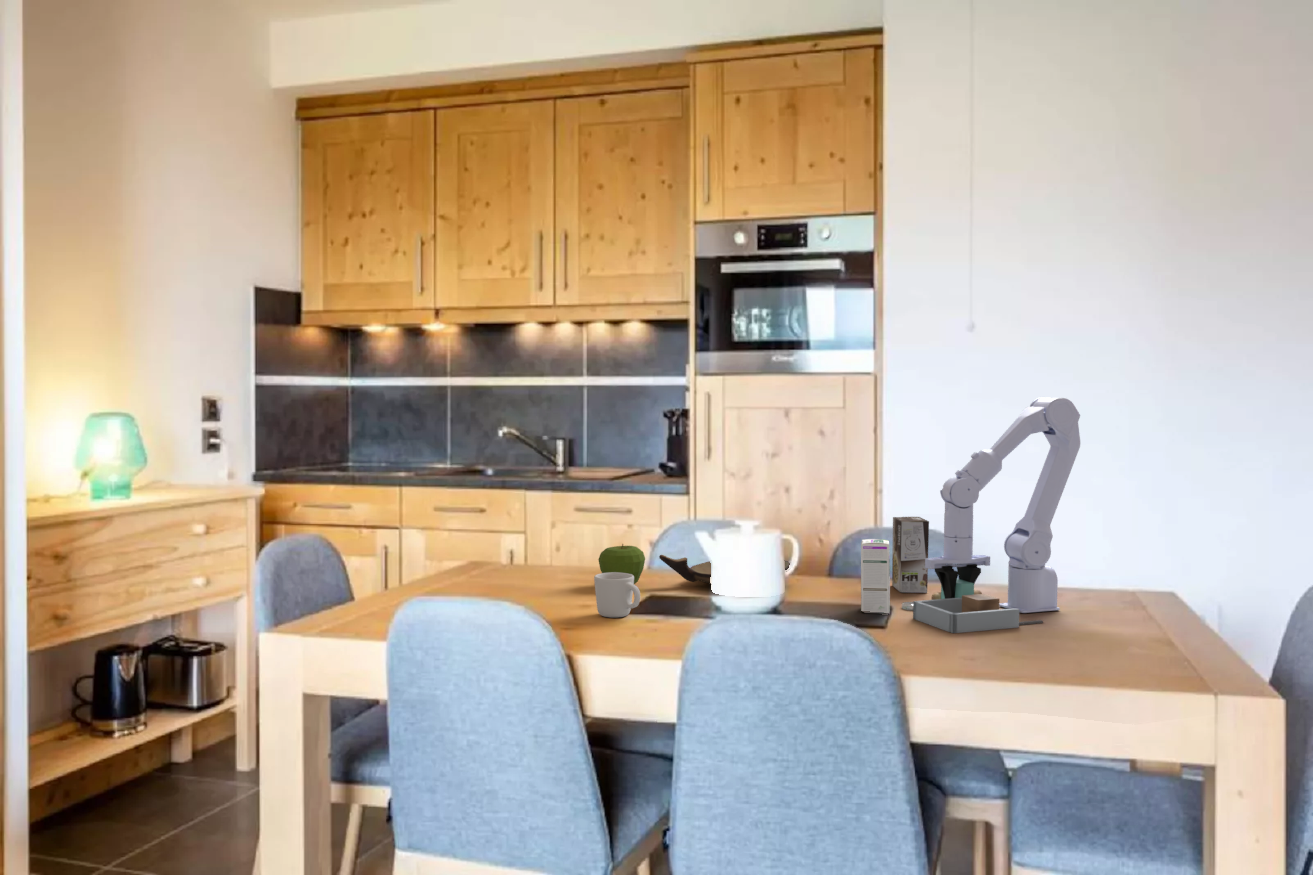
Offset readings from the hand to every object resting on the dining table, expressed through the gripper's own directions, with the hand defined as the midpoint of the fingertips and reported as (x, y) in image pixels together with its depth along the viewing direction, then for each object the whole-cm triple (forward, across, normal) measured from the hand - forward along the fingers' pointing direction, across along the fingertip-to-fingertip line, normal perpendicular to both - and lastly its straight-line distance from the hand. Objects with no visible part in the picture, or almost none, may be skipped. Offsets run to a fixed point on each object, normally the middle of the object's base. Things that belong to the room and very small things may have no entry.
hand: (957, 601), depth 220 cm
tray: (+2, +6, +11) cm, 12 cm away
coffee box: (+2, -3, -22) cm, 22 cm away
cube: (+2, +2, +11) cm, 11 cm away
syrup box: (+2, +17, -4) cm, 18 cm away
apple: (+2, +58, -45) cm, 73 cm away
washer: (+2, +8, -4) cm, 9 cm away
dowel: (+2, -5, -7) cm, 9 cm away
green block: (+2, 0, 0) cm, 2 cm away
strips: (+2, -6, +11) cm, 12 cm away
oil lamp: (+2, +34, -40) cm, 53 cm away
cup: (+2, +68, -16) cm, 70 cm away
